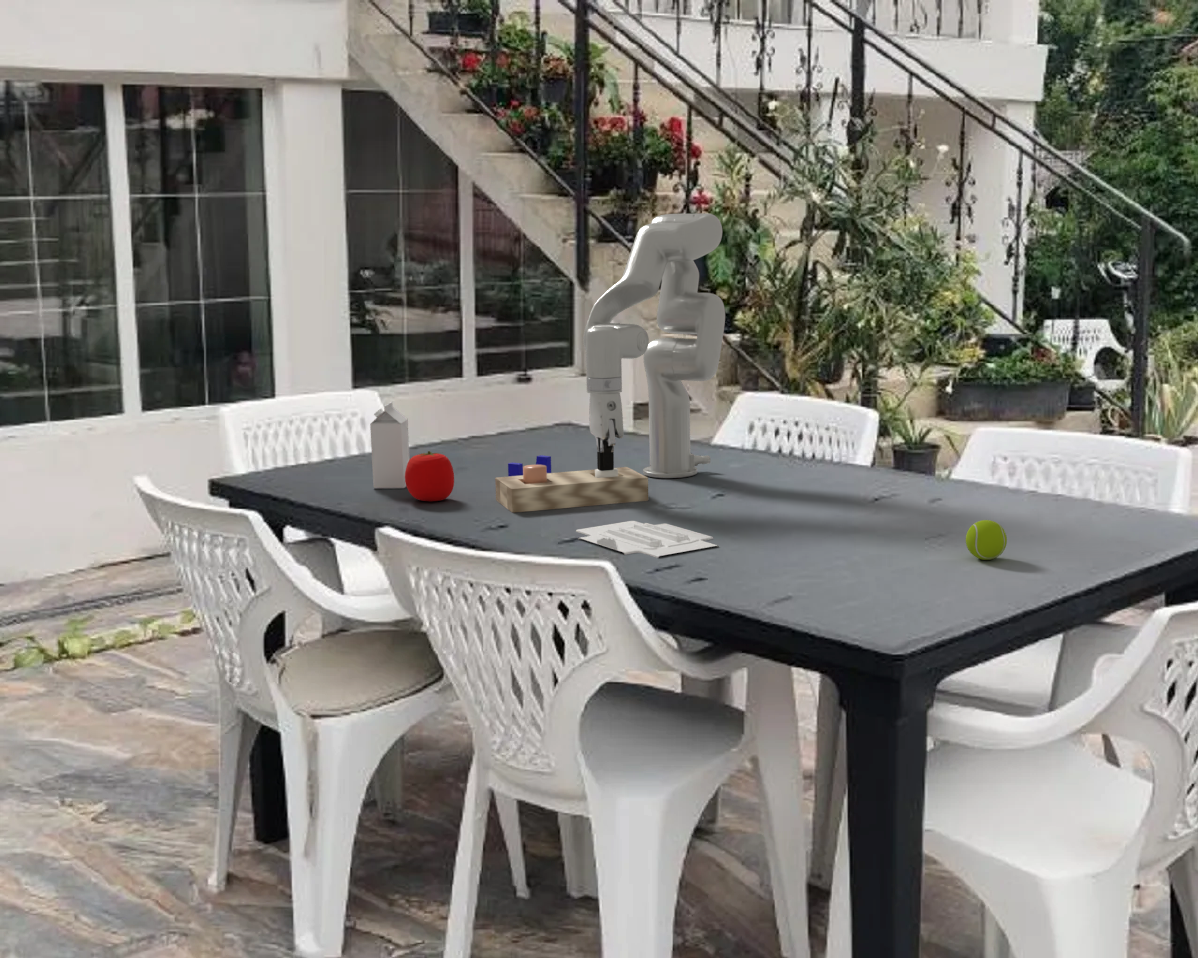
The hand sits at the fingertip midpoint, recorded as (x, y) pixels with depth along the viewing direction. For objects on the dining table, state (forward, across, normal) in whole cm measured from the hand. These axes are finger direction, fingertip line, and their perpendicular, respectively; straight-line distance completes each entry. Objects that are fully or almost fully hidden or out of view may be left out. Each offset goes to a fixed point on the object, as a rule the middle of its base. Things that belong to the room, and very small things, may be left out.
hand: (605, 469), depth 328 cm
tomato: (+7, +13, +36) cm, 39 cm away
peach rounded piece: (+3, 0, +16) cm, 16 cm away
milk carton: (+6, +33, +41) cm, 53 cm away
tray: (+7, -41, +5) cm, 42 cm away
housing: (+6, 0, +8) cm, 10 cm away
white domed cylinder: (+5, 0, 0) cm, 5 cm away
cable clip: (+6, +22, +12) cm, 25 cm away
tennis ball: (+7, -80, -44) cm, 91 cm away
